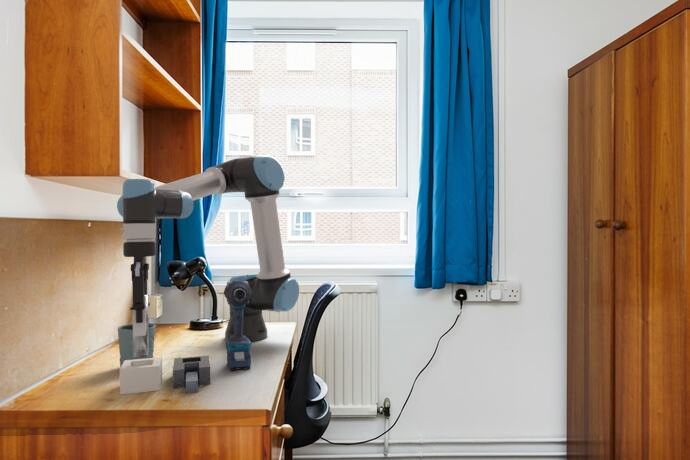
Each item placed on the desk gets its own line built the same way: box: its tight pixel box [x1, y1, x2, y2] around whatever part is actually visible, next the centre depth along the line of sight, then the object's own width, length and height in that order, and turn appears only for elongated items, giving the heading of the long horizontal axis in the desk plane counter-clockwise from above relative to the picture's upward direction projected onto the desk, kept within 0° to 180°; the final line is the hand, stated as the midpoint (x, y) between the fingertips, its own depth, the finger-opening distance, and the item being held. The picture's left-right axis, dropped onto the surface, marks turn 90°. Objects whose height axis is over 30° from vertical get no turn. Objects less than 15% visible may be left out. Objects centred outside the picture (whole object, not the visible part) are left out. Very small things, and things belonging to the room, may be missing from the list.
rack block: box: [119, 356, 163, 395], centre depth 123 cm, size 9×9×6 cm
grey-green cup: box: [117, 322, 157, 369], centre depth 141 cm, size 10×10×12 cm
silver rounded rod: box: [131, 294, 149, 357], centre depth 123 cm, size 4×4×15 cm
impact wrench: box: [223, 280, 252, 371], centre depth 139 cm, size 8×23×25 cm, turn 15°
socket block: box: [172, 355, 212, 389], centre depth 128 cm, size 12×9×4 cm
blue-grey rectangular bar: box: [185, 372, 199, 394], centre depth 122 cm, size 8×3×3 cm, turn 17°
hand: (140, 333), depth 123 cm, fingers closed on silver rounded rod, 4 cm apart
